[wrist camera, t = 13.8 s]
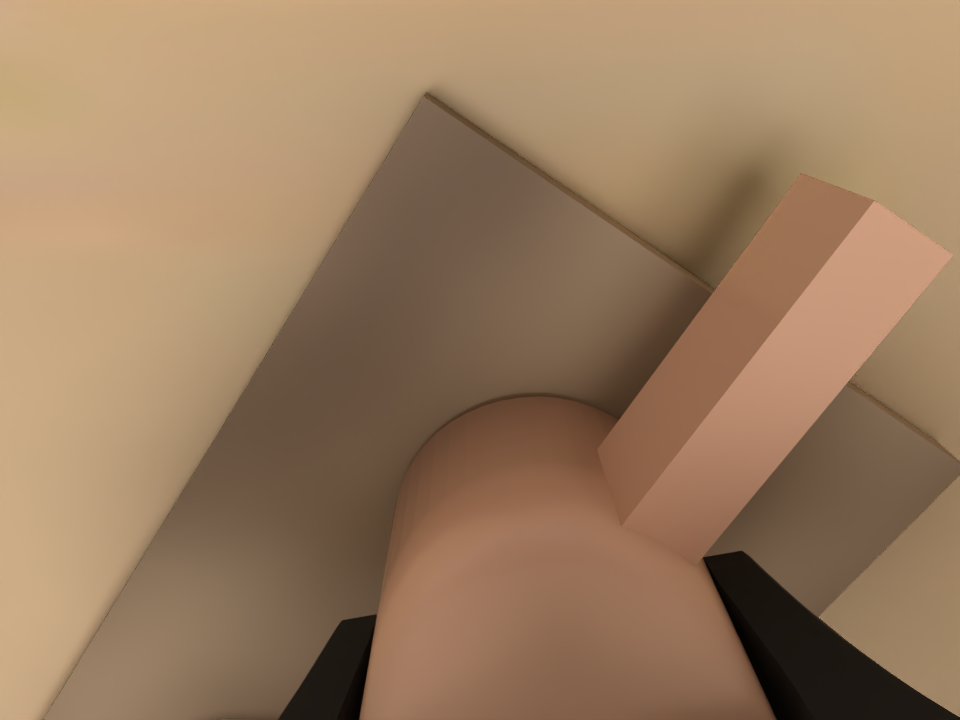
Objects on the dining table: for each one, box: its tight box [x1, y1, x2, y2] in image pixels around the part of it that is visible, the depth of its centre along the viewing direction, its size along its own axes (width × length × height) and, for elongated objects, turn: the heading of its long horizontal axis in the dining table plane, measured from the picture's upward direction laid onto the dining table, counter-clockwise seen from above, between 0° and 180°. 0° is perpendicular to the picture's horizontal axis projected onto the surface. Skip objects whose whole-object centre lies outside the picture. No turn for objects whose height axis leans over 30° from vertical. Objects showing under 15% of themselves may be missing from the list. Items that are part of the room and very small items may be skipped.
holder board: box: [44, 92, 960, 720], centre depth 17 cm, size 12×22×2 cm, turn 146°
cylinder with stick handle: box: [359, 174, 953, 720], centre depth 12 cm, size 10×5×6 cm, turn 148°
